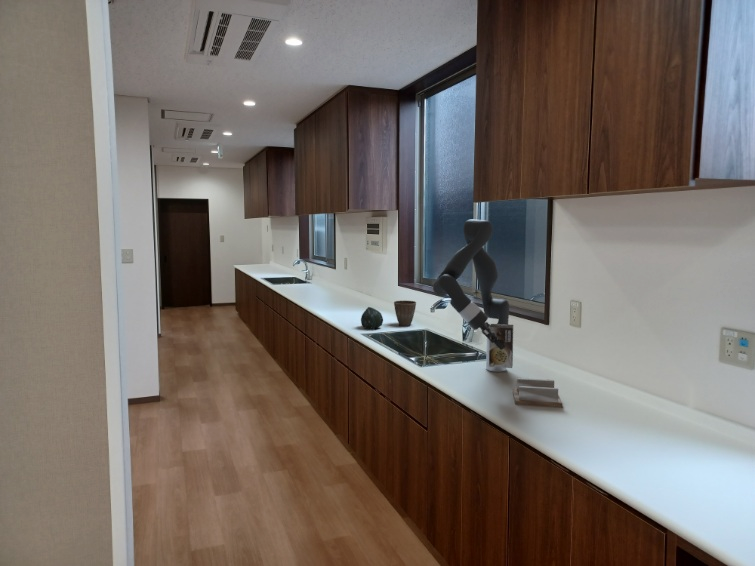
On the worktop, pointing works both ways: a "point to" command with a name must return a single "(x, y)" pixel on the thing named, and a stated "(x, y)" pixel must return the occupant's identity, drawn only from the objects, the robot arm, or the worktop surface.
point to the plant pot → (405, 312)
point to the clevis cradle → (536, 393)
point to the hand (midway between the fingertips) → (502, 345)
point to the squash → (371, 318)
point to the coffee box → (506, 354)
